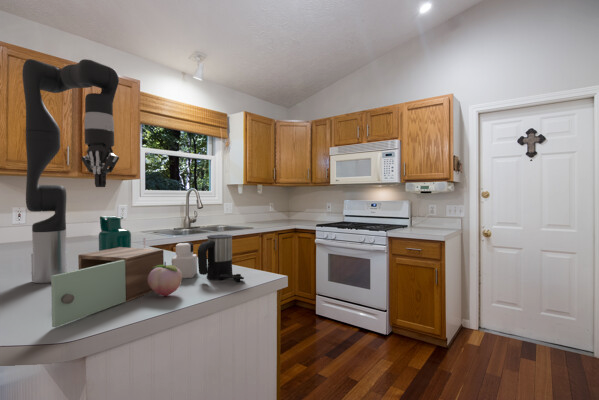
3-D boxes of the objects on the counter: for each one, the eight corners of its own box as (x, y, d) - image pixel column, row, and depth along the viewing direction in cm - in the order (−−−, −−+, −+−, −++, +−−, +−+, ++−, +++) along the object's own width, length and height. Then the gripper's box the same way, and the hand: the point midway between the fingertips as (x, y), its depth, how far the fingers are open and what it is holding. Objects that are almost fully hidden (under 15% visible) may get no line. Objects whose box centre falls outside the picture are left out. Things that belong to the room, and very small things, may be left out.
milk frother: (214, 273, 116) (214, 233, 116) (254, 275, 112) (253, 234, 112) (193, 283, 102) (193, 238, 102) (238, 286, 99) (237, 240, 98)
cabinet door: (58, 328, 67) (57, 276, 67) (52, 326, 67) (51, 275, 67) (129, 301, 83) (128, 260, 83) (122, 301, 84) (122, 260, 84)
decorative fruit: (188, 292, 92) (188, 259, 92) (171, 301, 84) (171, 265, 84) (161, 290, 94) (161, 258, 94) (142, 299, 86) (141, 264, 86)
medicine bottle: (177, 273, 116) (177, 241, 115) (197, 273, 116) (196, 241, 116) (171, 278, 108) (171, 244, 108) (192, 278, 109) (191, 244, 109)
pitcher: (133, 276, 112) (133, 215, 111) (109, 282, 104) (108, 217, 104) (119, 273, 117) (118, 215, 117) (95, 278, 110) (94, 216, 110)
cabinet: (79, 295, 90) (78, 254, 90) (120, 282, 104) (119, 247, 103) (127, 301, 85) (126, 258, 85) (163, 287, 98) (163, 249, 98)
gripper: (71, 129, 92) (72, 187, 92) (104, 125, 88) (105, 186, 88) (94, 133, 99) (95, 187, 99) (127, 130, 95) (127, 187, 95)
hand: (100, 187), depth 94 cm, fingers closed
